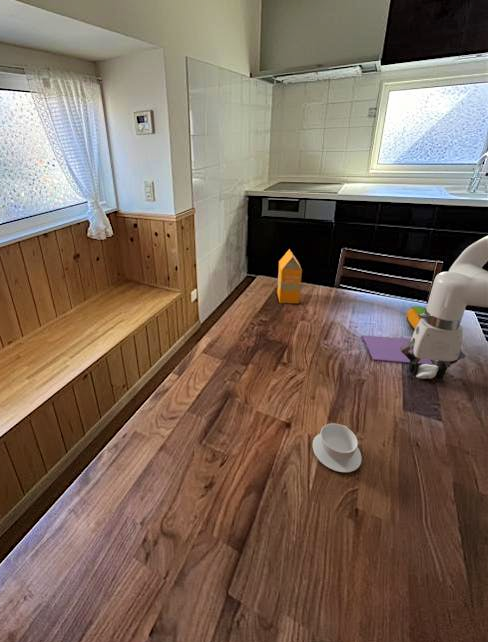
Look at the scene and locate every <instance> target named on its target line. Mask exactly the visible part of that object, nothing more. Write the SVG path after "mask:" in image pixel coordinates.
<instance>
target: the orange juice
mask: <svg viewBox="0 0 488 642" xmlns="http://www.w3.org/2000/svg"><path fill="white" fill-rule="evenodd" d="M302 274H303V269H302V267H301V264H300V262H299V261H298V259H297V258H296V256H295V255H294V253H293V252H292V251H291V249H290V248H289V249H288V250H287V251H286V252H285V253H284V255H283V256H282V257H281V258H280V259H279V260H278V274H277V290H276V294H277V298H278V302H279V304H300V296H301V288H302V287H301V285H302Z"/></svg>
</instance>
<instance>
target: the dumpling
mask: <svg viewBox="0 0 488 642" xmlns="http://www.w3.org/2000/svg"><path fill="white" fill-rule="evenodd" d="M436 365H437V364H436ZM436 365H435V364H433V365H430V364H419V368H418V372H417V375H416V376H414V377H415V378H417V379H422V380H425V379H429V380H430V379H433V378H435V377H436V376H437V374H436V373H437V371H438V370H439V367H438V366H436Z"/></svg>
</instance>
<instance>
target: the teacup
mask: <svg viewBox="0 0 488 642" xmlns="http://www.w3.org/2000/svg"><path fill="white" fill-rule="evenodd" d="M358 445H359V442H358V438H357V436H356V435H355V433H354V432H353V431H352V430H351V429H350V428H348V426H346V425H343V424H339V423H327V424H325V425H324V426H323V427H322V428H321V430H320V433H317V435H316V436H315V437H314V438H313V440H312V451H313V453H314V455H315V456H316V459H318V461H319V462H320V463H321V464H323V465H324V466H325V467H327V468H328V469H330V470H333V471H335V472H340V473H351V472H354V471H356V470H357V469H358V468H359V467H360V466H361V464H362V460H363V459H362V458H363V457H362V454H361V453H362V452H361V451H360V448H359V447H358Z"/></svg>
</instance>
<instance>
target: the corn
mask: <svg viewBox="0 0 488 642" xmlns="http://www.w3.org/2000/svg"><path fill="white" fill-rule="evenodd" d="M426 308H427V307H423V306H417V305H416V306H415V305H414V306H411V308H410V309H408V310H407V312H406V320H407V323H408V325H409V327H410V328H411V330H412V331H413V332H414V331H415V329H416V327H417V325H418V323H419V321H420V320H421V319H419V314H423V313H424V312H425V310H426Z"/></svg>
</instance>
